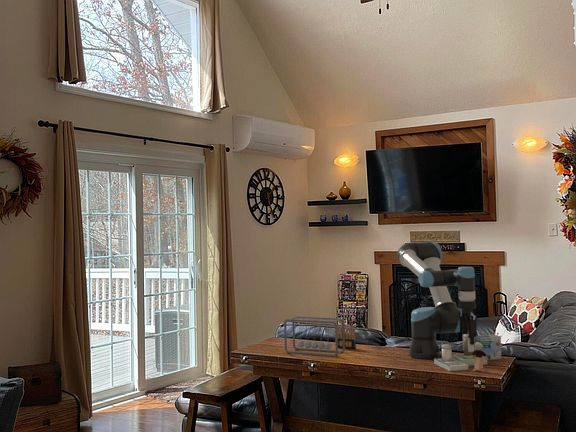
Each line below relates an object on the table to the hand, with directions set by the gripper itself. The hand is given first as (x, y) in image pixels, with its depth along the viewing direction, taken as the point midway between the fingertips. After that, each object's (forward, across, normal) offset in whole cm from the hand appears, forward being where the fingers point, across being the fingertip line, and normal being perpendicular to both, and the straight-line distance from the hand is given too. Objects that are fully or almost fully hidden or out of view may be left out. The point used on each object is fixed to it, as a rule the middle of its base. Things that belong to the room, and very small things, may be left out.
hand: (468, 350), depth 294 cm
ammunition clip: (+6, -52, -44) cm, 68 cm away
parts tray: (+6, 0, 0) cm, 6 cm away
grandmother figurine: (+6, +16, -3) cm, 17 cm away
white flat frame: (+6, +4, -11) cm, 13 cm away
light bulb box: (+6, -6, +13) cm, 16 cm away
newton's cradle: (+6, -46, -63) cm, 78 cm away
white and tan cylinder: (+4, 0, 0) cm, 4 cm away
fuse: (+6, 0, -11) cm, 12 cm away
